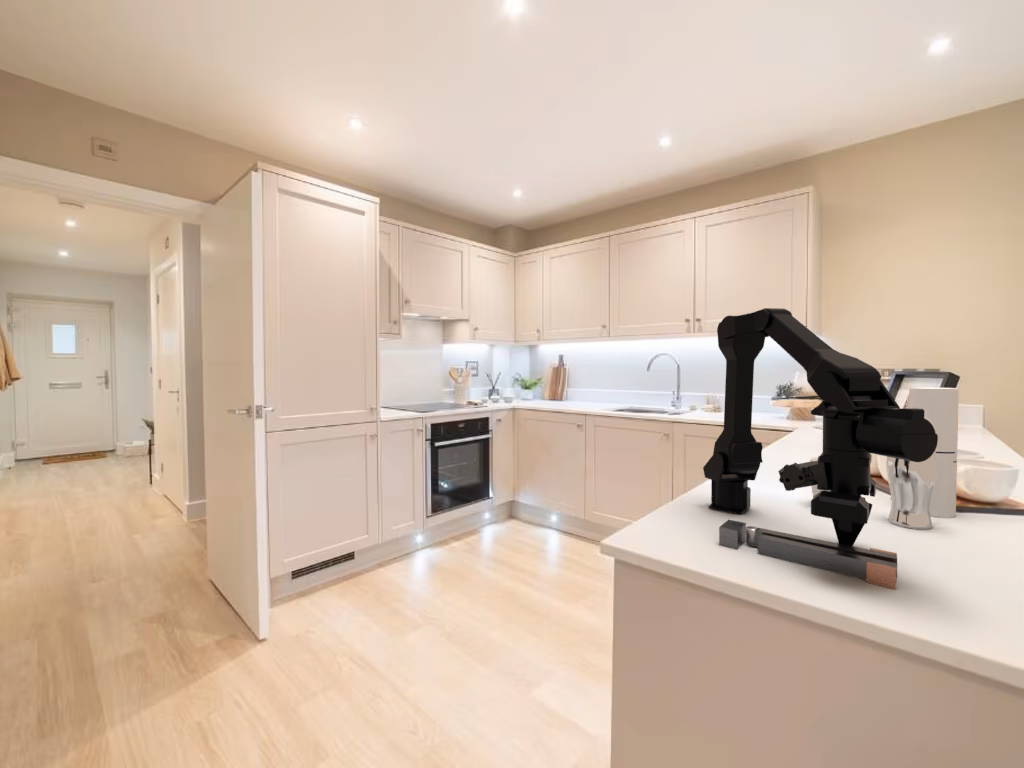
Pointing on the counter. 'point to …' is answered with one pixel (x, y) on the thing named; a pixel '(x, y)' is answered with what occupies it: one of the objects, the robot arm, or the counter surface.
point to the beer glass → (911, 491)
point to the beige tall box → (941, 443)
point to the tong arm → (819, 544)
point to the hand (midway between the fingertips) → (845, 550)
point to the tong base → (813, 555)
